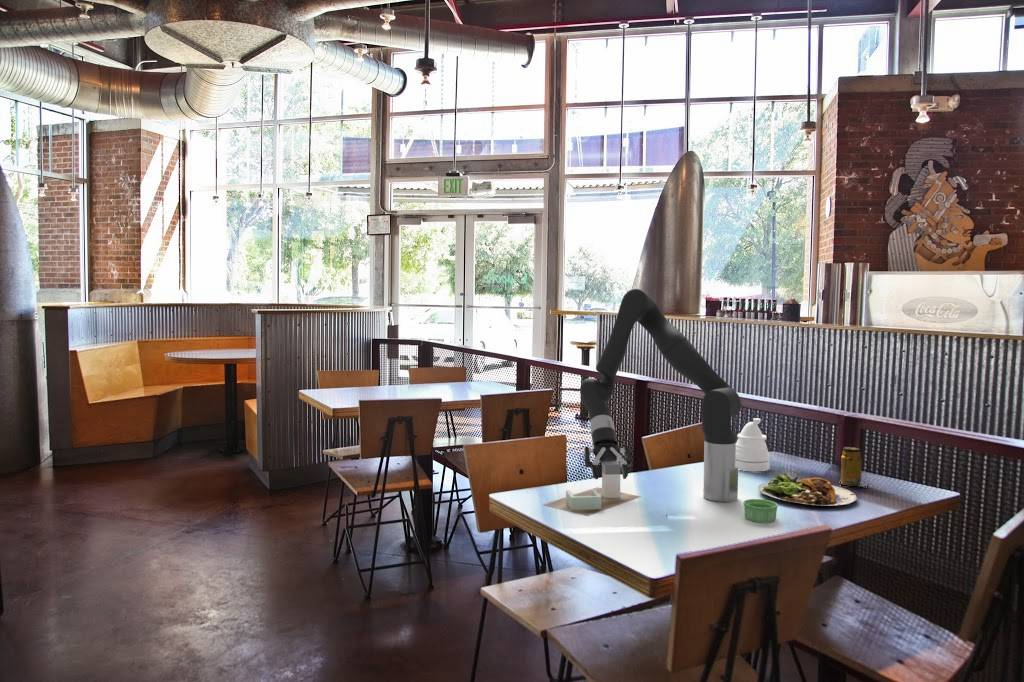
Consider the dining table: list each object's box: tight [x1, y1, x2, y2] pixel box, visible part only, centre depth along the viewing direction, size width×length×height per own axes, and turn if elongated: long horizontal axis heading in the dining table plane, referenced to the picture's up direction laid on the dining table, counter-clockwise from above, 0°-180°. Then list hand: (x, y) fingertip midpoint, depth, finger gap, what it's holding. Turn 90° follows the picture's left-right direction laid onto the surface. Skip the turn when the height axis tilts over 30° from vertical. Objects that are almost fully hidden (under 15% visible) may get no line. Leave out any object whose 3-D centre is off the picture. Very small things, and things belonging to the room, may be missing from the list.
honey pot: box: [736, 417, 771, 471], centre depth 265 cm, size 13×13×18 cm
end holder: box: [565, 489, 601, 510], centre depth 212 cm, size 8×8×4 cm
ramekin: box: [743, 498, 779, 524], centre depth 204 cm, size 9×9×4 cm
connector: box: [601, 461, 622, 498], centre depth 222 cm, size 4×4×10 cm
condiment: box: [840, 446, 868, 489], centre depth 242 cm, size 7×8×12 cm
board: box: [542, 486, 642, 517], centre depth 217 cm, size 16×27×1 cm, turn 138°
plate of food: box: [757, 472, 857, 507], centre depth 226 cm, size 28×28×6 cm
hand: (611, 477), depth 222 cm, fingers open, 8 cm apart
